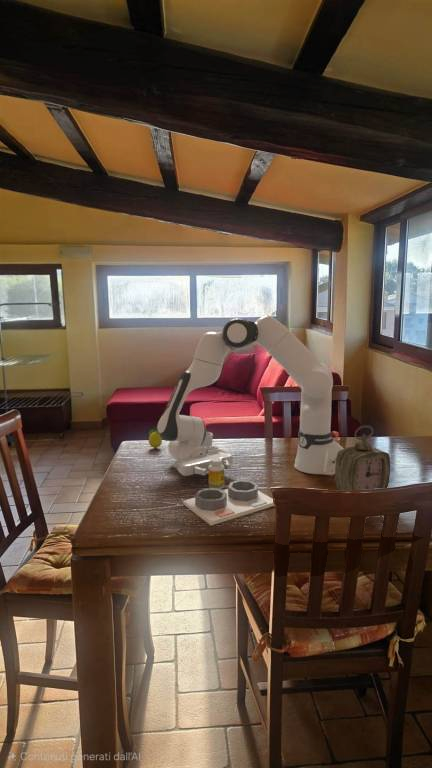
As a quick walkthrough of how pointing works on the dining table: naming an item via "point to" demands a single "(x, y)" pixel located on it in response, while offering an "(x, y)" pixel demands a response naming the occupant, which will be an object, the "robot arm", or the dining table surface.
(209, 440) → the cup
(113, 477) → the dining table surface
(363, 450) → the tabletop clock
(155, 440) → the lemon
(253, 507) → the socket board
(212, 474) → the supplement bottle
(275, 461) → the dining table surface
